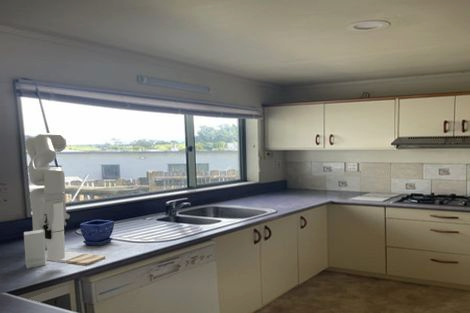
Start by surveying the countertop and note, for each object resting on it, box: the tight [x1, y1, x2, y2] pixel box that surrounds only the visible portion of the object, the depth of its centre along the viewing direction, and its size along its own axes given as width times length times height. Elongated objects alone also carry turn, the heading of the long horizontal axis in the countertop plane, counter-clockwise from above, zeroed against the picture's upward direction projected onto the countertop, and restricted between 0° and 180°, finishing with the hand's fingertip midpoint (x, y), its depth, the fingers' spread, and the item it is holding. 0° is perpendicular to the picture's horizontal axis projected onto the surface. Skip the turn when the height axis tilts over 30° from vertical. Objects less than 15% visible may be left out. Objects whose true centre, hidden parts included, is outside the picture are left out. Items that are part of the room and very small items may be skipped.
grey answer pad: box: [46, 250, 85, 263], centre depth 199 cm, size 12×12×1 cm
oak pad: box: [66, 253, 106, 266], centre depth 194 cm, size 12×12×1 cm
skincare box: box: [23, 230, 47, 269], centre depth 188 cm, size 8×7×16 cm
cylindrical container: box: [46, 202, 66, 262], centre depth 181 cm, size 7×7×25 cm
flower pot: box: [79, 219, 115, 247], centre depth 225 cm, size 13×13×12 cm
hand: (55, 236), depth 181 cm, fingers closed on cylindrical container, 7 cm apart
